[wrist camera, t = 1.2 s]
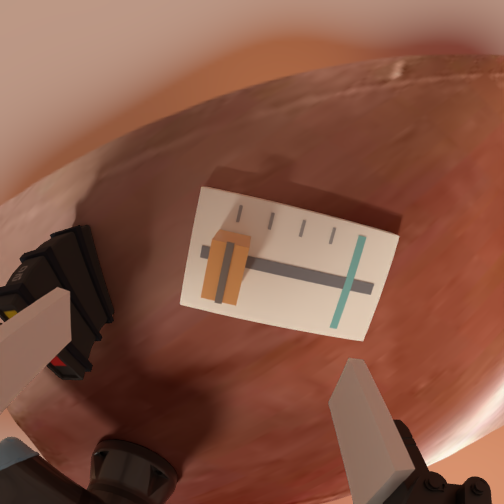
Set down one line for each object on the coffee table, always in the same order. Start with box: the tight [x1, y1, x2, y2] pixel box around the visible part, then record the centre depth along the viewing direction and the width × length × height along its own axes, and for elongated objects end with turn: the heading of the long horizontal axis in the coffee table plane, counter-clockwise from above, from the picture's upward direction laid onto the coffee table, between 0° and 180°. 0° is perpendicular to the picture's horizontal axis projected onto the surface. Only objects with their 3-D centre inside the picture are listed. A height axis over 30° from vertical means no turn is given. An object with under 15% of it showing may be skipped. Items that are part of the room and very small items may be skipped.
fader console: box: [180, 186, 399, 341], centre depth 31 cm, size 12×20×2 cm, turn 77°
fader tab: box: [201, 229, 251, 306], centre depth 27 cm, size 5×3×5 cm, turn 167°
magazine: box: [0, 225, 114, 380], centre depth 27 cm, size 4×13×15 cm, turn 11°
